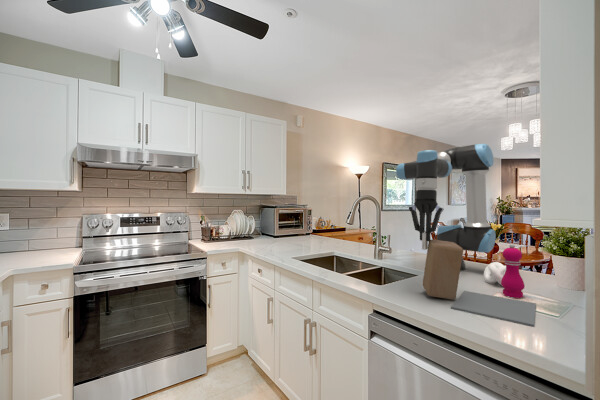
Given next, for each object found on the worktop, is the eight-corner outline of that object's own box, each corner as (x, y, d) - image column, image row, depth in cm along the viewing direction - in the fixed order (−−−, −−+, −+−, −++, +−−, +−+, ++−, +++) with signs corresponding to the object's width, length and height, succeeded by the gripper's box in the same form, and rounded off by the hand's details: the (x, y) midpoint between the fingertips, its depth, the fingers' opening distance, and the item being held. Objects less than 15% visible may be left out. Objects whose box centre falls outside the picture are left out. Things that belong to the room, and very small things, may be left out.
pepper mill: (499, 291, 113) (499, 241, 113) (522, 294, 110) (521, 242, 110) (502, 297, 107) (502, 244, 107) (526, 300, 103) (526, 245, 103)
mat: (464, 292, 113) (464, 290, 113) (536, 305, 98) (536, 303, 98) (450, 308, 96) (450, 306, 96) (534, 326, 82) (534, 324, 82)
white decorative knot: (508, 280, 128) (508, 261, 128) (524, 289, 116) (523, 267, 116) (480, 280, 130) (480, 260, 130) (493, 288, 118) (493, 266, 118)
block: (456, 301, 103) (464, 248, 101) (427, 296, 105) (434, 244, 103) (447, 290, 113) (455, 241, 111) (421, 286, 115) (428, 238, 113)
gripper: (406, 189, 113) (405, 248, 113) (440, 189, 105) (439, 252, 104) (413, 190, 119) (411, 246, 118) (446, 190, 110) (445, 250, 110)
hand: (424, 249), depth 111 cm, fingers closed
